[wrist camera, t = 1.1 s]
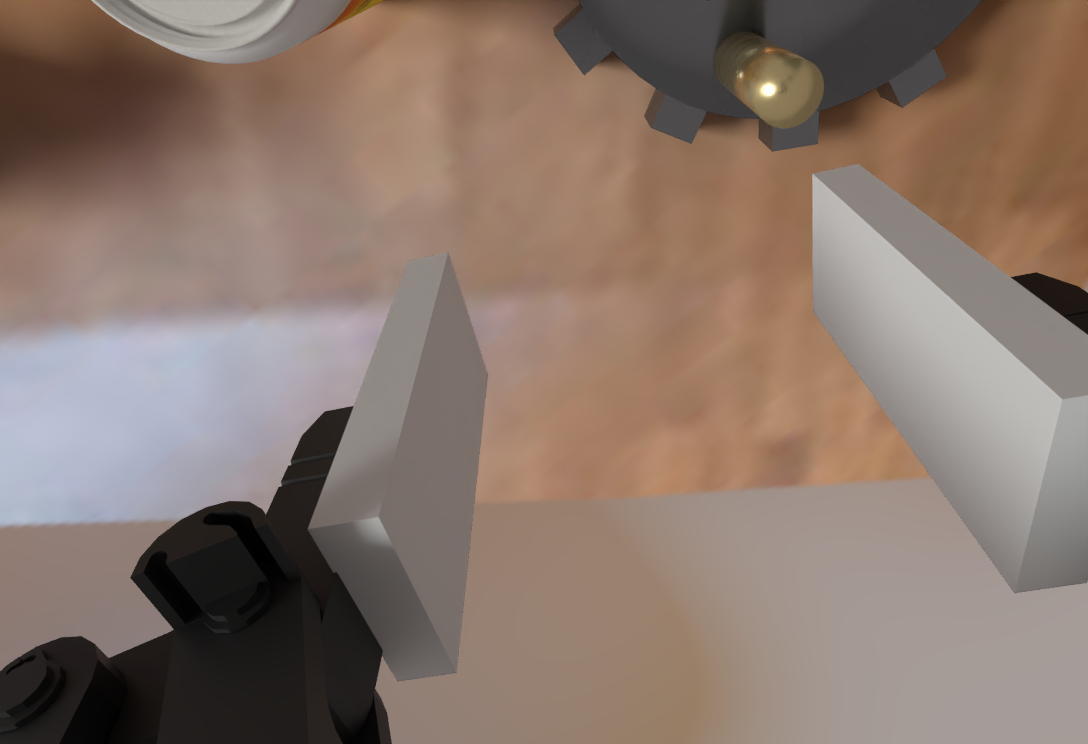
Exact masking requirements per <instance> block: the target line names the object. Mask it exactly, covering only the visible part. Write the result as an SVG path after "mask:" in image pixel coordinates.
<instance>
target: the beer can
mask: <svg viewBox="0 0 1088 744" xmlns="http://www.w3.org/2000/svg"><path fill="white" fill-rule="evenodd" d="M92 1H93V2H94V3H95V4H96V5H98V6H99V7H100V8H101V9H102V10H103V11H105V12H106V13H107V14H108V15H110V16H111V17H113V18H114V19H115V20H117V21H118V22H120V23H121V24H123V25H124V26H126V27H128V28H129V29H131V30H133V31H134V32H136V33H138V34H140V35H142V36H144V37H147V38H149V39H151V40H152V41H154V42H156V43H157V44H159V45H161V46H163V47H166V48H168V49H170V50H172V51H174V52H177V53H179V54H182V55H185V56H188V57H191V58H195V59H199V60H203V61H207V62H215V63H223V64H242V63H249V62H256V61H260V60H264V59H267V58H271V57H273V56H275V55H278V54H280V53H282V52H284V51H287V50H289V49H290V48H292V47H294V46H296V45H298V44H300V43H302V42H304V41H306V40H308V39H310V38H312V37H314V36H316V35H318V34H320V33H322V32H324V31H326V30H328V29H329V28H331V27H333V26H335V25H337V24H339V23H341V22H343V21H345V20H347V19H349V18H351V17H353V16H355V15H357V14H359V13H361V12H363V11H365V10H367V9H368V8H370V7H372V6H374V5H376V4H378V3H380V2H382V1H384V0H92Z"/></svg>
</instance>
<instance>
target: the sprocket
mask: <svg viewBox="0 0 1088 744" xmlns="http://www.w3.org/2000/svg"><path fill="white" fill-rule="evenodd" d="M981 1H982V0H579V2H580V4H579V5H578V6H577V7H576V8H575V9H574V10H572V11H571V12H570V13H569V14H568V15H567V16H566V17H565V18H564V19H563V20H561V21H560V22H559V23H558V24H557V25H556V26H555V27H554V28H553V30H554V35H555V36H556V38H557V39H558V41H559V42H560V43H561V45H562V46H563V47H564V49H565V50H566V51H567V53H568V54H569V55H570V57H571V58H572V59H573V61H574V62H575V64H576V65H577V66H578V68H579V69H580V70H581V72H582V73H583V74H584V75H585V74H586V73H588V72H589V71H590V70H591V69H592V68H593V67H594V66H596V65H597V64H598V63H599V62H600V61H601V60H603V59H604V58H605V57H606V56H607V55H608V54H609V53H611V52H612V51H614V53H615V54H616V55H617V56H618V57H619V58H620V59H621V60H622V61H623V62H624V63H625V64H626V65H627V66H628V67H629V68H631V69H632V70H633V71H634V72H635V73H636V74H637V75H638V76H639V77H641V78H642V79H644V80H645V81H646V82H648V83H649V84H651V85H652V86H654V87H655V88H656V90H655V92H654V94H653V97H652V99H651V101H650V104H649V106H648V108H647V110H646V113H645V115H644V116H645V118H646V120H647V122H648V123H649V125H650V127H651V128H653V129H655V130H658V131H660V132H663V133H665V134H668V135H670V136H673V137H675V138H678V139H681V140H683V141H686V142H688V143H691V144H692V142H693V140H694V137H695V135H696V133H697V131H698V129H699V127H700V125H701V123H702V121H703V119H704V117H705V115H706V113H707V112H710V113H714V114H719V115H725V116H731V117H737V118H753V119H759V139H760V140H761V141H762V142H763V143H764V144H765V145H766V146H767V147H768V148H769V149H770V150H771V151H778V150H784V149H790V148H796V147H802V146H808V145H814V144H818V126H819V111H820V110H825V109H828V108H831V107H833V106H836V105H839V104H842V103H844V102H847V101H850V100H852V99H855V98H857V97H859V96H861V95H863V94H865V93H867V92H869V91H871V90H873V89H875V88H876V89H877V91H878V93H879V95H880V97H882V98H884V99H886V100H888V101H890V102H892V103H894V104H896V105H898V106H900V107H902V108H903V107H904V106H905V105H907V104H908V103H910V102H911V101H913V100H914V99H915V98H917V97H918V96H920V95H921V94H923V93H924V92H925V91H927V90H928V89H930V88H931V87H932V86H934V85H935V84H937V83H938V82H940V81H941V80H942V79H944V78H945V77H947V75H946V73H945V71H944V69H943V66H942V64H941V62H940V60H939V58H938V56H937V53H936V51H935V49H934V48H935V47H937V46H938V45H939V44H940V43H942V42H943V41H944V40H945V39H946V38H947V37H948V36H949V35H950V34H951V33H952V32H953V31H954V30H955V29H956V28H957V27H958V26H959V25H960V24H961V23H962V22H963V21H964V20H965V19H966V18H967V17H968V16H969V15H970V14H971V13H972V12H973V10H974V9H975V8H976V7H977V6H978V5H979V3H980V2H981Z"/></svg>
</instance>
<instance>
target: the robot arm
mask: <svg viewBox="0 0 1088 744" xmlns="http://www.w3.org/2000/svg"><path fill="white" fill-rule="evenodd" d="M813 312H814V314H815V315H816V316H817V318H818V319H819V321H820V322H821V323H822V325H823V326H824V328H825V329H826V330H827V332H828V333H829V335H830V336H831V337H832V339H833V340H834V342H835V343H836V344H837V346H838V347H839V349H840V350H841V351H842V353H843V354H844V356H845V357H846V358H847V360H848V361H849V363H850V364H851V365H852V367H853V368H854V370H855V371H856V372H857V374H858V375H859V377H860V378H861V379H862V381H863V382H864V384H865V385H866V386H867V388H868V389H869V391H870V392H871V393H872V395H873V396H874V398H875V399H876V400H877V402H878V403H879V405H880V406H881V407H882V409H883V410H884V412H885V413H886V414H887V416H888V417H889V419H890V420H891V421H892V423H893V424H894V425H895V427H896V428H897V430H898V431H899V432H900V434H901V435H902V437H903V438H904V439H905V441H906V442H907V444H908V445H909V446H910V448H911V449H912V451H913V452H914V453H915V455H916V456H917V458H918V459H919V460H920V462H921V463H922V465H923V466H924V467H925V469H926V470H927V472H928V473H929V474H930V476H931V477H932V479H933V480H934V481H935V483H936V484H937V485H938V487H939V488H940V490H941V491H942V493H943V494H944V495H945V497H946V498H947V500H948V501H949V502H950V504H951V505H952V507H953V508H954V509H955V511H956V512H957V514H958V515H959V516H960V518H961V519H962V521H963V522H964V523H965V525H966V526H967V527H968V529H969V530H970V532H971V533H972V535H973V536H974V537H975V539H976V540H977V542H978V543H979V544H980V546H981V547H982V548H983V550H984V551H985V553H986V554H987V555H988V557H989V558H990V560H991V561H992V562H993V564H994V565H995V567H996V568H997V569H998V571H999V572H1000V574H1001V575H1002V576H1003V578H1004V579H1005V581H1006V582H1007V583H1008V585H1009V586H1010V588H1011V589H1012V590H1013V592H1014V593H1018V592H1026V591H1032V590H1040V589H1046V588H1054V587H1060V586H1068V585H1074V584H1082V583H1087V581H1088V293H1087V292H1086V291H1084V290H1083V289H1081V288H1080V287H1078V286H1075V285H1072V284H1069V283H1066V282H1063V281H1060V280H1057V279H1054V278H1051V277H1048V276H1045V275H1042V274H1039V273H1037V272H1036V273H1031V274H1025V275H1020V276H1015V277H1009V276H1008V275H1007V274H1005V273H1004V272H1003V271H1001V270H1000V269H999V268H997V267H996V266H995V265H993V264H992V263H991V262H989V261H988V260H987V259H985V258H984V257H983V256H981V255H980V254H979V253H977V252H976V251H975V250H973V249H972V248H970V247H969V246H968V245H966V244H965V243H964V242H962V241H961V240H960V239H958V238H957V237H956V236H954V235H953V234H952V233H950V232H949V231H948V230H946V229H945V228H944V227H942V226H941V225H940V224H938V223H937V222H936V221H934V220H933V219H932V218H930V217H929V216H928V215H926V214H925V213H923V212H922V211H921V210H919V209H918V208H917V207H915V206H914V205H913V204H911V203H910V202H909V201H907V200H906V199H905V198H903V197H902V196H901V195H899V194H898V193H897V192H895V191H894V190H893V189H891V188H890V187H889V186H887V185H886V184H885V183H883V182H882V181H881V180H879V179H878V178H877V177H875V176H874V175H872V174H871V173H870V172H868V171H867V170H866V169H864V168H863V167H862V166H860V165H859V164H855V165H851V166H846V167H842V168H837V169H832V170H828V171H823V172H818V173H814V174H813ZM487 378H488V373H487V370H486V367H485V364H484V361H483V358H482V355H481V351H480V348H479V345H478V342H477V339H476V336H475V333H474V330H473V327H472V324H471V320H470V317H469V314H468V311H467V308H466V305H465V302H464V299H463V296H462V293H461V290H460V286H459V283H458V280H457V277H456V274H455V271H454V268H453V265H452V262H451V259H450V255H449V252H446V253H442V254H437V255H432V256H428V257H423V258H418V259H414V260H409V261H408V263H407V266H406V269H405V271H404V274H403V277H402V279H401V282H400V285H399V287H398V290H397V293H396V295H395V298H394V300H393V303H392V306H391V308H390V311H389V314H388V316H387V319H386V322H385V324H384V327H383V330H382V332H381V335H380V338H379V340H378V343H377V346H376V348H375V351H374V354H373V356H372V359H371V362H370V364H369V367H368V370H367V372H366V375H365V378H364V380H363V383H362V386H361V388H360V391H359V394H358V396H357V399H356V402H355V404H354V406H351V407H346V408H341V409H336V410H331V411H325V412H324V413H323V414H322V415H321V416H320V417H319V418H318V419H317V420H316V421H315V422H314V424H313V425H312V426H311V427H310V428H309V429H308V430H307V431H306V432H305V433H304V434H303V435H302V437H301V439H300V441H299V443H298V446H297V448H296V450H295V452H294V454H293V457H292V459H291V465H290V466H288V468H287V470H286V472H285V474H284V476H283V479H282V481H281V483H282V487H278V490H277V492H276V494H275V496H274V498H273V501H272V503H271V505H270V507H269V509H268V512H267V514H266V515H265V513H264V511H263V510H262V509H261V508H259V507H257V506H256V505H254V504H252V503H250V502H240V501H228V502H224V503H221V504H217V505H213V506H209V507H206V508H204V509H202V510H200V511H198V512H196V513H194V514H192V515H190V516H188V517H186V518H184V519H182V520H180V521H179V522H177V523H176V524H175V525H174V526H172V527H171V528H170V529H169V530H167V531H166V532H165V533H163V534H162V535H161V536H159V537H158V538H157V539H156V540H155V541H154V542H153V543H152V545H151V546H150V547H149V548H148V549H147V550H146V551H145V553H144V554H143V555H142V556H141V557H140V559H139V561H138V563H137V565H136V567H135V569H134V571H133V573H132V575H131V577H130V578H131V579H132V580H133V581H134V583H135V584H136V585H137V586H138V587H139V588H140V590H141V591H142V592H143V593H144V594H145V596H146V597H147V598H148V599H149V600H150V601H151V603H152V604H153V605H154V606H155V607H156V608H157V610H158V611H159V612H160V613H161V615H162V616H163V617H164V618H165V619H166V620H167V621H168V623H169V624H170V625H171V626H172V628H173V629H174V630H173V631H171V632H169V633H167V634H164V635H162V636H160V637H157V638H155V639H153V640H150V641H148V642H146V643H143V644H141V645H139V646H136V647H134V648H132V649H129V650H127V651H125V652H122V653H120V654H118V655H115V656H113V657H111V658H108V657H107V656H106V655H105V654H104V653H103V652H102V651H101V650H100V649H99V648H98V647H97V646H96V645H95V644H94V643H92V642H91V641H89V640H87V639H85V638H83V637H82V636H78V637H62V638H58V639H56V640H53V641H50V642H48V643H45V644H42V645H40V646H37V647H35V648H34V649H32V650H30V651H29V652H27V653H25V654H24V655H22V656H21V657H18V658H17V659H15V660H14V661H13V662H11V663H9V664H8V665H7V666H6V667H4V668H3V670H1V671H0V744H392V742H391V736H390V730H389V723H388V716H387V712H386V709H385V707H384V705H383V702H382V700H381V698H380V696H379V694H378V693H377V692H376V690H375V686H376V681H377V676H378V672H379V667H380V662H381V657H382V656H383V658H384V660H385V661H386V663H387V664H388V666H389V668H390V670H391V671H392V673H393V675H394V676H395V678H396V680H397V681H404V680H411V679H418V678H425V677H431V676H438V675H445V674H453V673H456V672H457V663H458V655H459V645H460V635H461V626H462V615H463V607H464V597H465V588H466V578H467V569H468V559H469V550H470V540H471V530H472V521H473V511H474V502H475V492H476V483H477V473H478V464H479V454H480V445H481V435H482V425H483V416H484V406H485V397H486V387H487Z"/></svg>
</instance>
